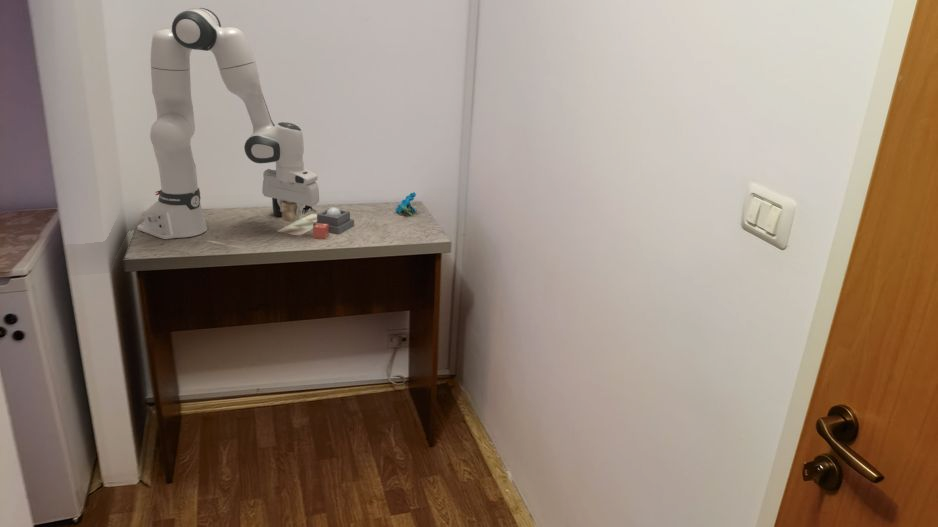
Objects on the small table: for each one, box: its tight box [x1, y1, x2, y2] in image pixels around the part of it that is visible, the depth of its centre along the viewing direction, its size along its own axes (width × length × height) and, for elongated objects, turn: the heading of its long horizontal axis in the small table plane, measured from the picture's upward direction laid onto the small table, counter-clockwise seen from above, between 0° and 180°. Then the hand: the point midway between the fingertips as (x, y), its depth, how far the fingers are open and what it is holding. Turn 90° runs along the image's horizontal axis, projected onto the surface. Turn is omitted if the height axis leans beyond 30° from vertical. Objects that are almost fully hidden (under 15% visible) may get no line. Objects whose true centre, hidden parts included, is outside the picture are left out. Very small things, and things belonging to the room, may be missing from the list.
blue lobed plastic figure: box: [395, 191, 417, 217], centre depth 265 cm, size 11×6×10 cm
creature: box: [301, 205, 317, 215], centre depth 259 cm, size 8×5×8 cm
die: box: [312, 223, 330, 240], centre depth 235 cm, size 4×4×4 cm
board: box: [277, 213, 317, 237], centre depth 245 cm, size 20×21×1 cm
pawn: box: [281, 201, 300, 223], centre depth 237 cm, size 4×4×8 cm
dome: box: [326, 206, 341, 217], centre depth 243 cm, size 5×5×5 cm
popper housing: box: [313, 207, 355, 235], centre depth 244 cm, size 10×10×6 cm
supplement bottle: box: [271, 198, 285, 218], centre depth 253 cm, size 7×7×12 cm
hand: (290, 213), depth 238 cm, fingers closed on pawn, 4 cm apart
